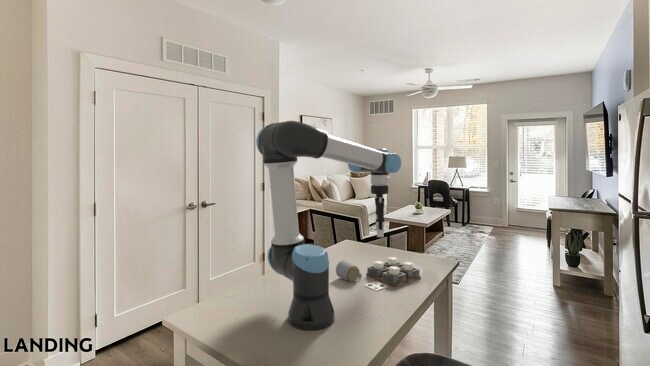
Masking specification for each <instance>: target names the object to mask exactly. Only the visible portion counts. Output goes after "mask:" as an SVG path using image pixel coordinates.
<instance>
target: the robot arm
mask: <svg viewBox="0 0 650 366" xmlns="http://www.w3.org/2000/svg"><path fill="white" fill-rule="evenodd" d="M255 143H256V147H257V150H258V152H259V153H260V154H261V155H262V161H263V165H264V166H265V167H266V168H268V174H269V186H270V187H269V188H270V197H271V208H272V209H271V210H272V216H273V217H272V218H273V219H272V220H273V228H274V236H273V237H272V239H270V248H269V249H268V251H267V261H268V264H269V266H270V268H271V269H272V270H273V271H274V272H276V273H277V274H278V275H281V276H283V277H285V278H286V279H288V280H290V281H291V282H292V289H293V290H292V291H293V292H292V294H293V296H292V300H291V303H290V307H289V310H288V314H287V316H288V318H287V319H288V323H289V324H290V325H291V326H292V327H294V328H296V329H298V330H304V331H316V330H320V329H321V330H322V329H324V328H328V327H329V326H330V325H332V324H333V323H334V321H335V310H334V306H333V304H332V301H331V297H330V294H329V293H330V292H329V291H330V287H329V285H330V284H329V283H330V280H329V278H330V269H329V268H330V261H329V259H330V258H329V254H328V252H327V250H326V249H325V248H324V247H322V246H319V245H317V244H315V245H313V244H305V238H304V236H303V235H302V234H301V233H300V229H299V227H300V226H299V217H298V216H299V215H298V207H297V205H298V204H297V192H296V183H295V182H296V180H295V169H294V167H295V165H296V163H298V158H312V159H315V160H316V159H317V160H319V159H320V158H324V159H329V160H332V161H337V162H340V163H345V164H347V167H348V169H349V170H350V172H352V173H370V184H371V185H370V194H372V195H375V197H374V205H375V230H376V238H385V236H384V234H385V233H384V232H385V231H384V230H385V229H384V227H385V224H384V223H385V213H384V212H385V197H383V195H387V194H389V185H388V184H389V180H390V179H391V177H390V176H389V175H390V174H395V173H398V172H399V171H400V169H401V167H402V159H401V156H400V155H399V153H398V154H397V153H395V152H389V150H388V149H387V148H371V147H368V146H364V145H362V144H360V143H355V142H352V141H349V140H346V139H342V138H341V137H336V136H333V135H331V134H329V133H328V132H327V131H326V130H324V129H322V128H319V127H316V126H313V125H310V124H308V123H303V122H301V121H296V120H287V121H280V122H273V123H269V124H267V125H265V126H264V127H262V128H261V129H260V130H259V132H258V133H257V136H256V142H255Z"/></svg>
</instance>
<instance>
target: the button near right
mask: <svg viewBox="0 0 650 366" xmlns="http://www.w3.org/2000/svg"><path fill="white" fill-rule="evenodd" d="M399 270H400V268H399V267H395V266H391V267H389V275H391V276H394V277H395V276H398V275H399Z"/></svg>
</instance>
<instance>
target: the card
mask: <svg viewBox="0 0 650 366" xmlns="http://www.w3.org/2000/svg"><path fill="white" fill-rule="evenodd" d="M363 286H364V287H366V288H368V289H370V290H372V291H374V292H378V291H381V290H383V289H386V288H389V285H387V284H385V283H383V282H380V281H378V280H375V281H372V282H369V283H365V284H363Z"/></svg>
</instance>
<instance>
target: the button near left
mask: <svg viewBox="0 0 650 366" xmlns="http://www.w3.org/2000/svg"><path fill="white" fill-rule="evenodd" d="M372 263H373V264H372V266H373V269H375V270H378V271H379V270H382V269H384V262H383V261H381V260H376V261H373V262H372Z"/></svg>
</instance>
